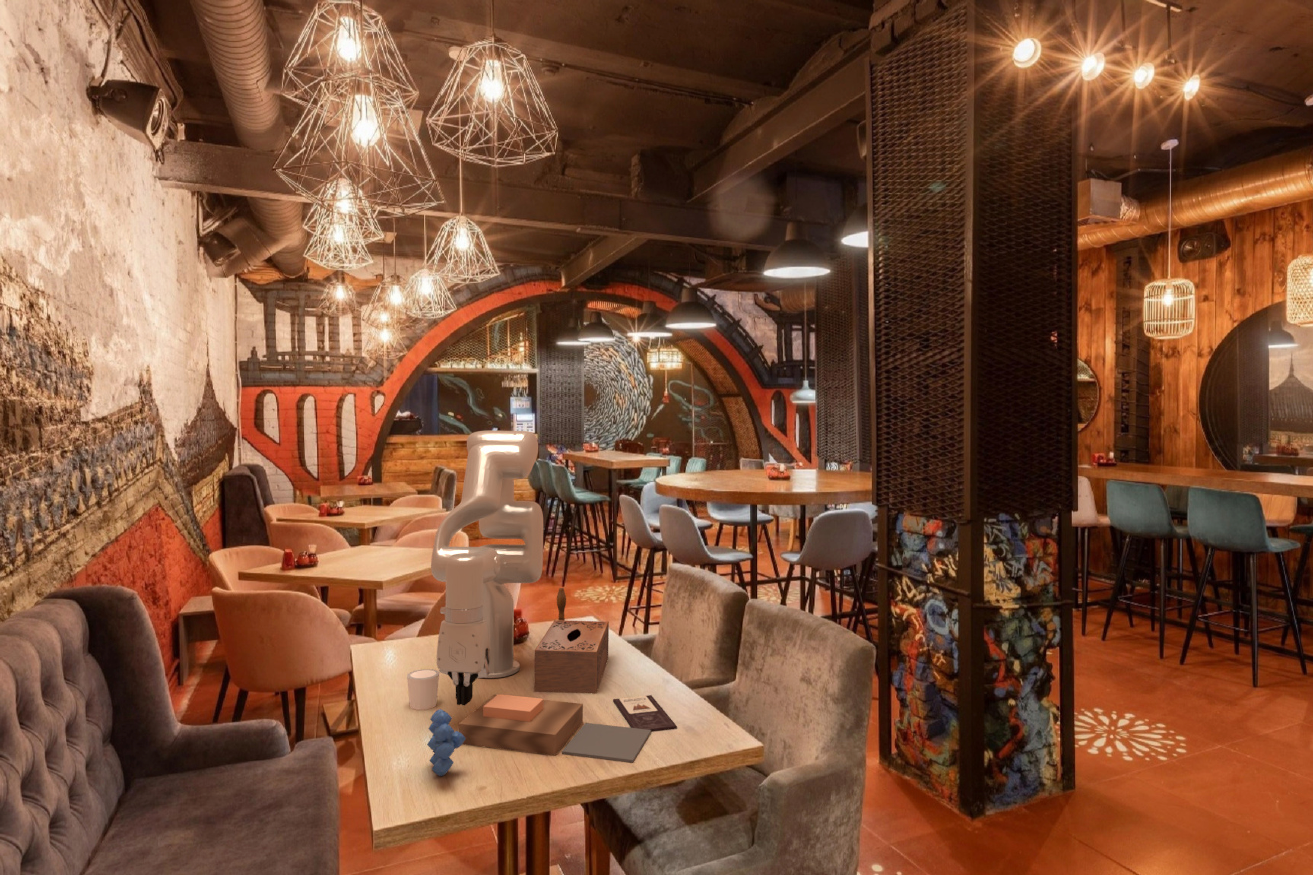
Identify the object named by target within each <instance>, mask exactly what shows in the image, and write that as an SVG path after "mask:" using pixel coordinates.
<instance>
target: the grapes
mask: <svg viewBox="0 0 1313 875" xmlns="http://www.w3.org/2000/svg"><path fill="white" fill-rule="evenodd" d="M451 720H453V717H452V716H451V715H450V714H449V713H448V712H446V711H444V710H443V709H441V708H440V709H437V710H436V711H435V712H434V713H433V714H432V716H431V717H430V721H431V722H432V723H431V724H430V726H429V727H428V730H429V731H430V732H431V734H432V737H431V738H430V740H429V741H428V742H427V746H428V747H429V748H430V750H432V753H433V754H432V756H431V758H429V762H430V763H431V764H432V768H431V770H432V771H433V772H434V773H435V774H436V775H437V776H439V777H443V776H445V775H446V774H447V773H448V771H449V770H450V769H451V768H452V766H453V764H454V761H453V759H452V758H451V756H452V755H453V753H454V752H455V750H456V749H459V748H460V747H461V746H462V745H464V744H463V742H464V741H465V739H466V738H465V737H464V736H463V734H462V733H460V732H459V730H456V731H455V729H454V728H453V727H451V725H449V724H450V722H451Z"/></svg>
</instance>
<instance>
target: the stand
mask: <svg viewBox="0 0 1313 875" xmlns="http://www.w3.org/2000/svg"><path fill="white" fill-rule="evenodd" d="M497 695H498V694H494V695H492V696H490V698H488V699H487V700H486V701H485V702H483V703H482V704H481V705H479V707H477V708H476V709H475V710H473V711H472V712H471V713H470V714H469V715H467V716H466V717H465V718H463V720H461V721H460V722H459V723H458V732H460V733H462V734H463V736H464V737H465V738H466V739H465V741H464V742H463V744H462V745H465V744H466V746H474V747H481V746H485V747H484V748H489V747H490V748H491V749H498V750H505V751H506V750H507V751H513V752H514V751H515V752H521V753H523V752H525V753H533V754H538V755H547V756H556V755H557V754H558V753H559V751H560V750H561V749H562V748H563V747H564V746H565V744H566V743H567V742H568V741H569V740H570V738H572V736H573V735H574V734H575V732H577V730H578V729H579V728H581V725H583V721H584V720H583V719H584V716H583V715H584V713H583V712H584V704H583V703H579V702H568V701H558V700H552V699H551V700H549V699H543V709H542V710H541V711H540V712H539V713H538V714H537V715H536V716H535V717H534V718H533V719H532V720H531V721H530V722H529V721H520V720H511V719H502V718H493V717H485V716H483V706H485V705H486V704H487V703H488V702H489V701H491V700H492V699H493V698H494V697H496V696H497Z"/></svg>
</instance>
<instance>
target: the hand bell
mask: <svg viewBox="0 0 1313 875" xmlns="http://www.w3.org/2000/svg"><path fill="white" fill-rule="evenodd" d="M556 605H557V608H558V610H557V611H558V618H557V620H564V621H566V620H565V618H566V617H565V609H566V605H567V595H566V593H565V589H564V588H563V587H559V588H558V591H557V595H556Z"/></svg>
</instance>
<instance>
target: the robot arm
mask: <svg viewBox="0 0 1313 875" xmlns="http://www.w3.org/2000/svg"><path fill="white" fill-rule="evenodd" d="M466 450H467V453H468V454H467V458H466V466H465V472H464V479H463V480H464V481H463V487H462V494H461V501H460V503H459V504H458V505H456V506H455V507H454V508H453V509H452V510H451V511H450V512H449V513H448V514H447V515H446V516H445V517H444V518H443V520H442V521H441V522H440V525H439V526H438V528H437V530H436V532H435V534H434V535H435V536H434V540H433V541H434V542H433V548H432V552H431V553H432V554H431V560H430V561H431V562H430V570H431V574H432V576H433V578H434V579H435V580H436V581H439V582H443V583H445V605H444V606H441V607H440V610H439V613H440V614H441V615H442V614H443V615H444V619H443V620H442V621H441V623H440V628H439V632H438V637H437V638H438V639H437V646H436V666H437V668H438V669H439V670H438V672H439V673H441V674H443V675H446V676H448V677H449V678H450V679H451V680H452V684H453V685H454V686H455V700H456V705H457V706H460V705H461V706H463V707H464V706H466V705H467V704H468V703H470V702H471V701H472V699H473V691H474V690H473V685H474V684H473V683H474V682H475V681H476V680H477V679H480V678H481V679H482V678H483V679H498V678H504V677H508V676H511V675H514V674H516V673H517V672H519V671H520V668H521V667H520V662H518V661H517V660H516V659H514V626H515V625H514V624H515V622H514V615H515V614H514V612H515V610H514V606H515V604H514V598H513V595H512V593H511V591H510V590H509V589H508V587H507V586H506V585H505V584H533V583H536V582H538V581H539V580H540V579H541V577H542V573H543V564H544V563H543V562H544V557H543V556H544V515H543V509H542V508H541V505H540V504H539V503H538V502H535V501H532V500H531V501H530V500H515V480H523V479H526V478H528V477H529V475H530V474H531V472H532V470H533V467H534V465H535V463H536V460H537V458H538V454H539V441H538V438H537V437H536V434H535V433H533V432H532V431H529V430H528V431H527V430H479V431H474V432H472V433H470V434H469V435H468V437H467V439H466ZM476 522H478V528H479V532H480V534H481V536H482V537H484V538H488V539H496V540H497V539H498V540H503V539H505V540H506V539H509V540H516V539H517V540H522V541H524V544H507V543H506V544H505V543H504V544H503V543H494V544H493V543H489V544H483V545H481V546H450V543H451V541H452V540H453V537H454V536H455V535H456V534H457V533H458V532H459V531H461V530H462V529H463V528H465V527H467V526H469V525H471V524H473V523H476Z"/></svg>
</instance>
